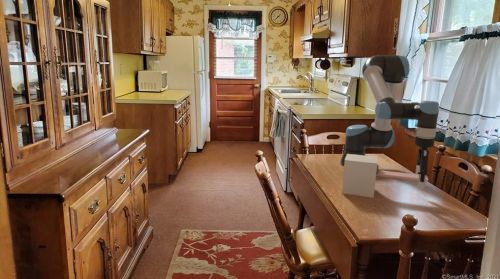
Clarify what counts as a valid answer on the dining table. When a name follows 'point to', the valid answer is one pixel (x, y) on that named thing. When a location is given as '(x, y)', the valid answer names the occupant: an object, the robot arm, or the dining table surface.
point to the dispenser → (359, 175)
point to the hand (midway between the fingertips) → (419, 183)
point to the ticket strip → (399, 175)
